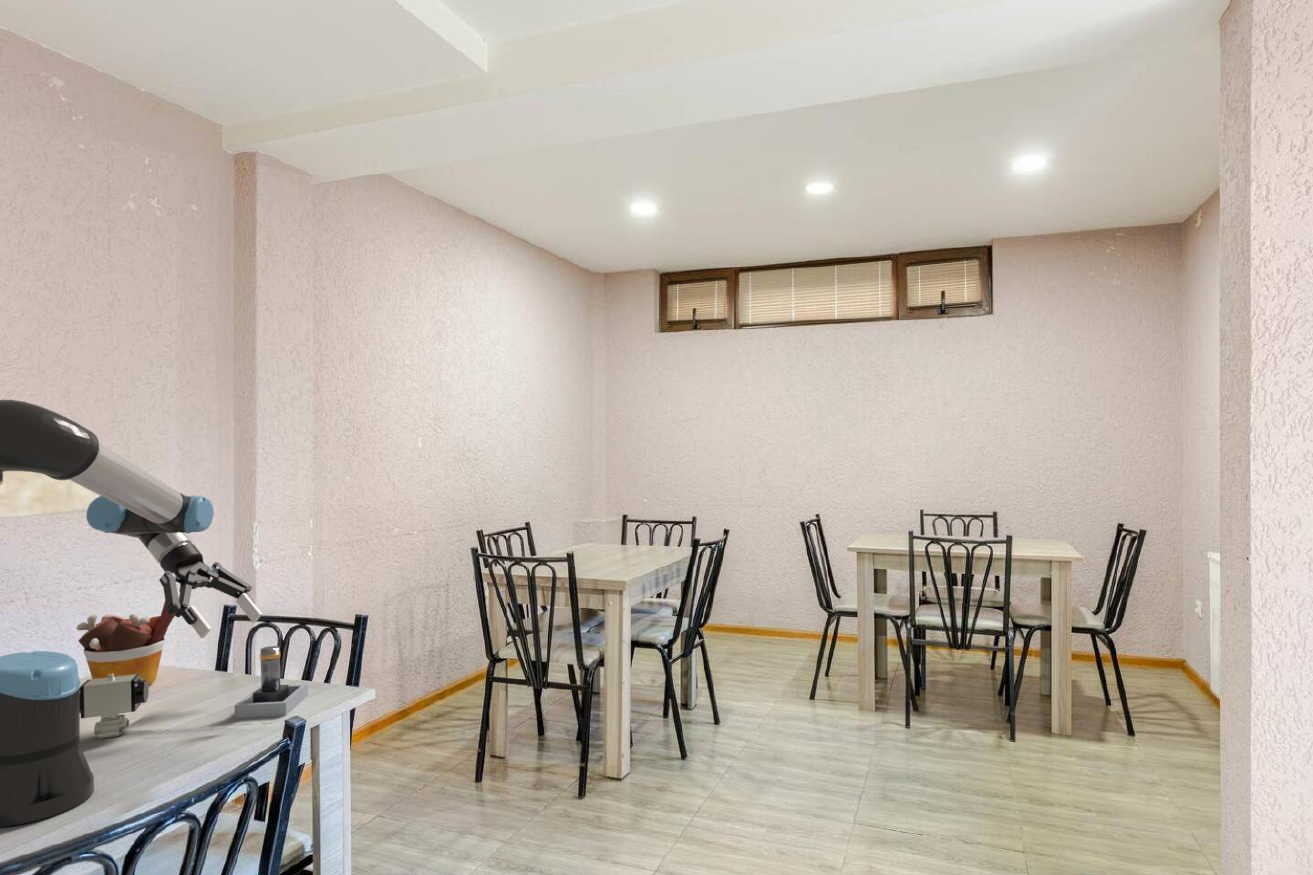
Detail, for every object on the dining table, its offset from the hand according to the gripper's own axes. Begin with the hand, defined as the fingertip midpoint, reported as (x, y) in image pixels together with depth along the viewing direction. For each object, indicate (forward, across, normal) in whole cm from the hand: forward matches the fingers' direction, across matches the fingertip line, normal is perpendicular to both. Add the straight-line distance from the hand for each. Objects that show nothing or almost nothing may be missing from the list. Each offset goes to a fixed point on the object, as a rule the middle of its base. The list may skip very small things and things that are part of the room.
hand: (233, 625), depth 163 cm
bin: (+20, 0, -6) cm, 21 cm away
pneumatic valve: (+4, +17, -22) cm, 28 cm away
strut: (+19, 0, -5) cm, 20 cm away
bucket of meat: (-14, -8, -40) cm, 43 cm away
